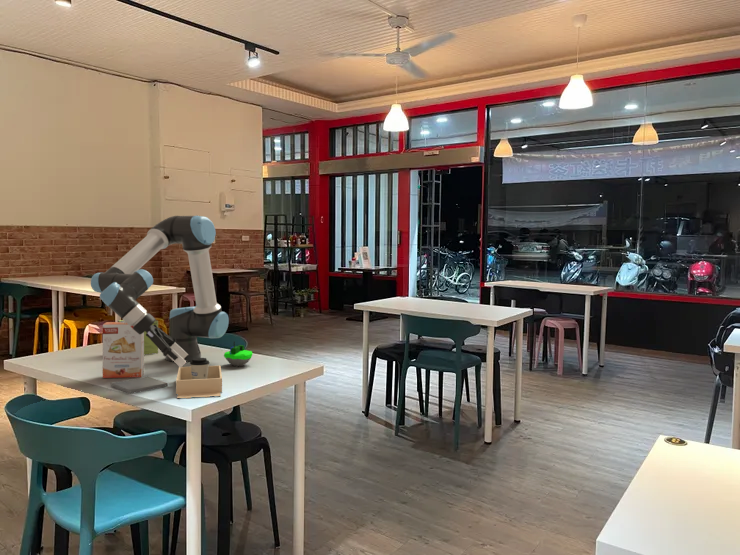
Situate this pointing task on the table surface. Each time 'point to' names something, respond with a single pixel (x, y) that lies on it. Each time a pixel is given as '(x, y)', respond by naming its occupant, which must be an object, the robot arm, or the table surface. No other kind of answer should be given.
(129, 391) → the slate board
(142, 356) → the cracker box
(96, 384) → the table surface
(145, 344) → the protein box
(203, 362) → the coffee cup
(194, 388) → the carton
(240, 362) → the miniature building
